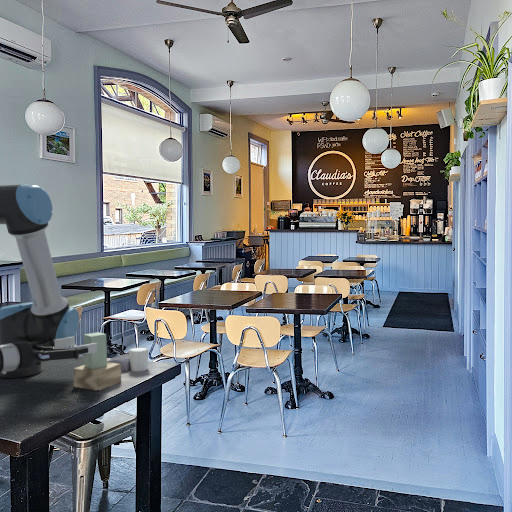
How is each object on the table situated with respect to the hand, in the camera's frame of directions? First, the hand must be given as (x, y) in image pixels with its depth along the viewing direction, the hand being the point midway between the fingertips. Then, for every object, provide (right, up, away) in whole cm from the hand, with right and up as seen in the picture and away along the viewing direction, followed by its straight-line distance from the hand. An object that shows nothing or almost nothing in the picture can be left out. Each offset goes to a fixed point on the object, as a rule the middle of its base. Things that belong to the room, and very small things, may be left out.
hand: (85, 344), depth 166 cm
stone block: (+5, -12, +24) cm, 28 cm away
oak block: (+3, -13, +3) cm, 14 cm away
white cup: (+12, -12, +21) cm, 27 cm away
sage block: (+3, -7, +3) cm, 8 cm away
